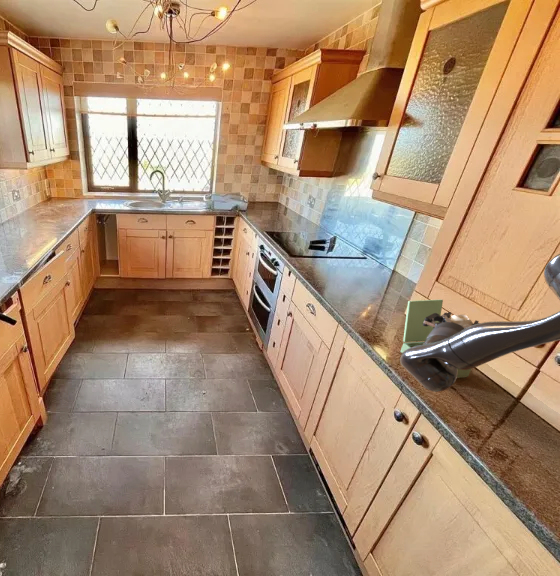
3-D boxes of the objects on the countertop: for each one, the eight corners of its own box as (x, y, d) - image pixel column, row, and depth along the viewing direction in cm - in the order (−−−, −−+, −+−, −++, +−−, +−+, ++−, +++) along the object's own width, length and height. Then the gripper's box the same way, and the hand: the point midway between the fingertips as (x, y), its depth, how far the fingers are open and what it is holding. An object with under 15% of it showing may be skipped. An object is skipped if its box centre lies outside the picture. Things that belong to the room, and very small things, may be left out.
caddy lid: (443, 299, 100) (431, 296, 104) (409, 301, 100) (399, 298, 104) (437, 340, 103) (426, 335, 107) (404, 342, 102) (394, 337, 107)
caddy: (467, 377, 93) (472, 367, 92) (432, 379, 93) (436, 369, 91) (431, 349, 105) (435, 340, 103) (400, 351, 105) (403, 342, 103)
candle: (445, 337, 95) (458, 309, 91) (465, 347, 91) (480, 319, 86) (433, 341, 94) (446, 313, 89) (453, 352, 89) (468, 323, 85)
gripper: (489, 342, 74) (501, 318, 83) (418, 317, 84) (436, 298, 93) (476, 366, 77) (489, 340, 87) (409, 340, 87) (428, 319, 97)
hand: (461, 319), depth 90 cm, fingers closed on candle, 5 cm apart
